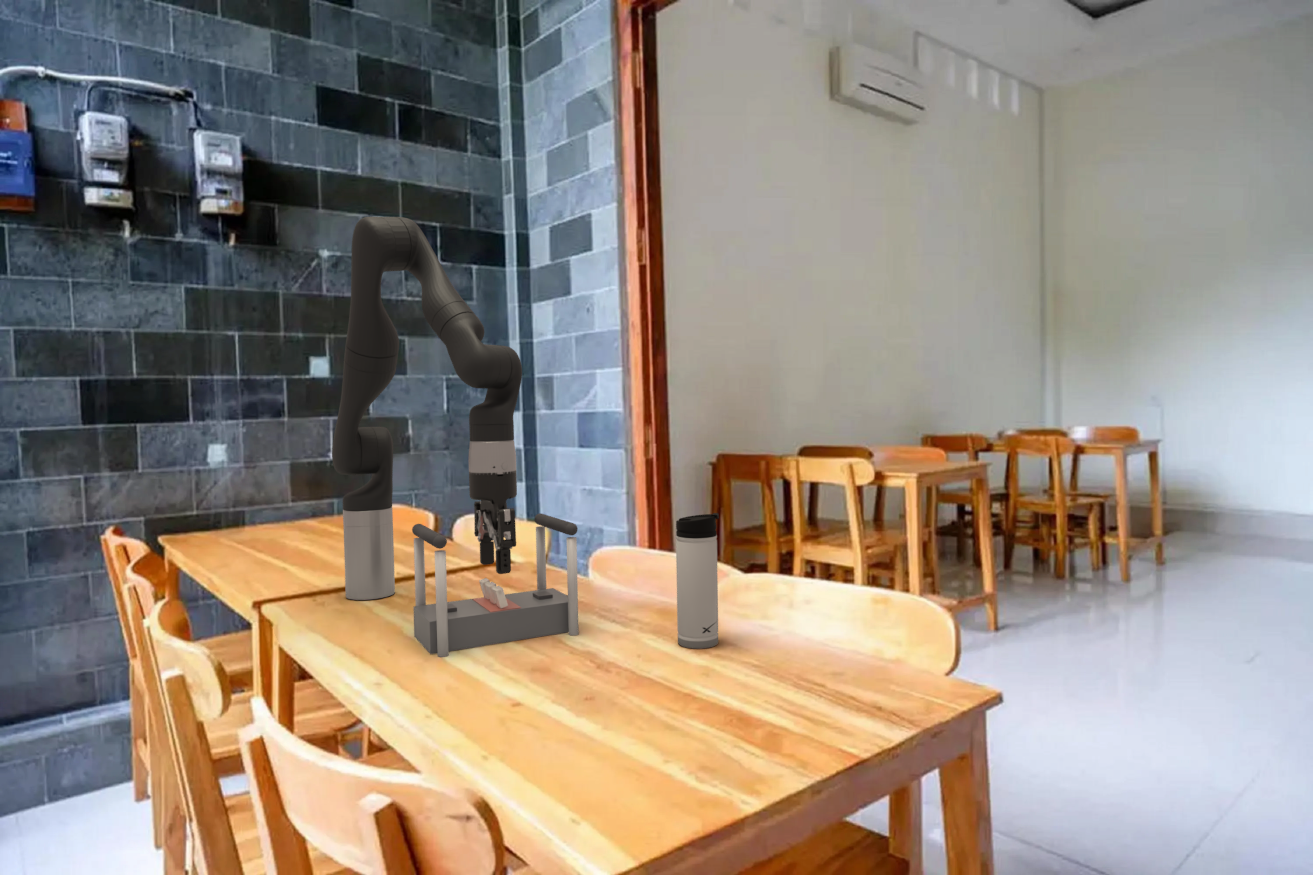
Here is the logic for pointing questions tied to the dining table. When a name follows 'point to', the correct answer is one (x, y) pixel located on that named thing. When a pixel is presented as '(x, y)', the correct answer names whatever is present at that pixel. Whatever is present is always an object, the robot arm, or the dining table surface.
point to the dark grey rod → (556, 524)
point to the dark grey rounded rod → (429, 536)
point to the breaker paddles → (493, 593)
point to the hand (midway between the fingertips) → (495, 568)
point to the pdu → (493, 607)
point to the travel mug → (697, 581)
